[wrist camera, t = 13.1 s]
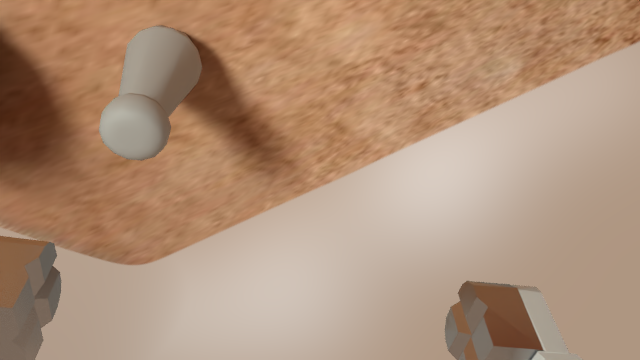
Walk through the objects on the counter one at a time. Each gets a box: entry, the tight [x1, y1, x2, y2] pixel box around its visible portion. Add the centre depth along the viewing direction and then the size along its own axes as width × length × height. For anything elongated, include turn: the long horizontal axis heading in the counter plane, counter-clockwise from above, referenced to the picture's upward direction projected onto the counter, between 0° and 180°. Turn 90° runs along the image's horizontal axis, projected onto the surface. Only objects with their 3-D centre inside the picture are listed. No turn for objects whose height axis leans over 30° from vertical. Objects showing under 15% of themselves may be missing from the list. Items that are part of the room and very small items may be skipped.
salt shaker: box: [99, 25, 202, 160], centre depth 39 cm, size 6×6×13 cm
